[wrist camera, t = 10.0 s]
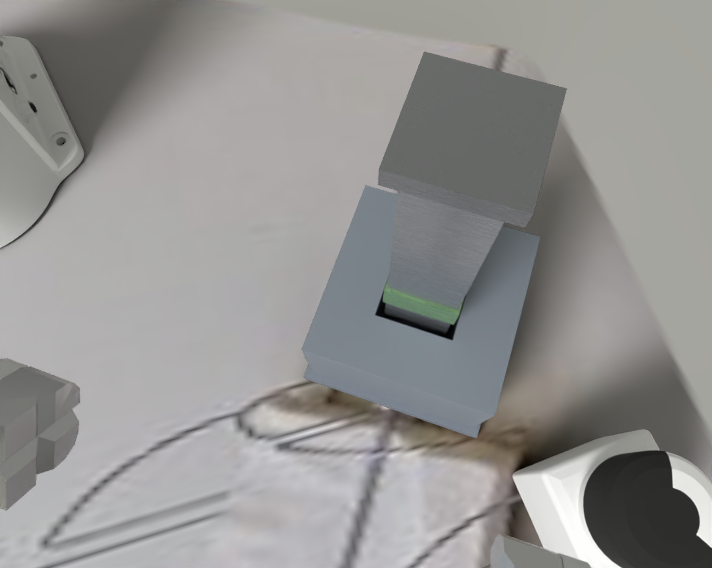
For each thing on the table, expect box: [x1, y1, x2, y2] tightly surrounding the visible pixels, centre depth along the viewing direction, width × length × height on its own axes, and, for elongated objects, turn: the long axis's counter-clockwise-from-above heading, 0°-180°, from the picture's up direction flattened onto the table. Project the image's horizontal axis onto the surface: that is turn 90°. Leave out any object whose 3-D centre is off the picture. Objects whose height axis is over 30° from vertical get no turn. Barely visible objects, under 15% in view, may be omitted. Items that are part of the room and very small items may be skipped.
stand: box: [302, 185, 541, 438], centre depth 38 cm, size 13×13×9 cm
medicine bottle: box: [513, 429, 712, 568], centre depth 32 cm, size 7×7×12 cm
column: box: [378, 52, 567, 334], centre depth 27 cm, size 5×5×18 cm
